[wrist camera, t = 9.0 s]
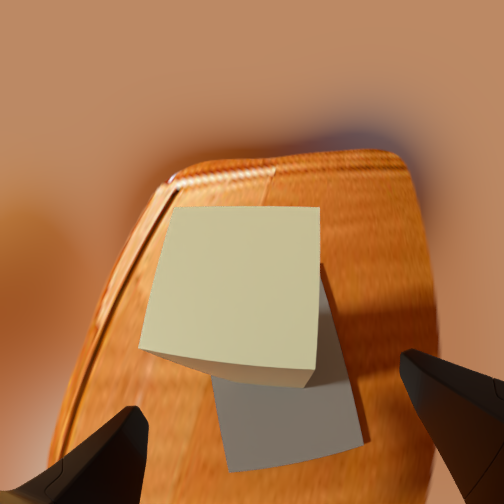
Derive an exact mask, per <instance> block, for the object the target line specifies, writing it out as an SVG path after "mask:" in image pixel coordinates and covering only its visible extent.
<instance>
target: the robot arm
mask: <svg viewBox="0 0 504 504" xmlns="http://www.w3.org/2000/svg"><path fill="white" fill-rule="evenodd" d="M400 376H401V379H402V381H403V383H404V385H405V388H406V390H407V392H408V394H409V397H410V399H411V401H412V404H413V406H414V408H415V410H416V412H417V414H418V416H419V418H420V419H421V421H422V423H423V424H424V426H425V428H426V430H427V431H428V433H429V435H430V437H431V438H432V440H433V442H434V444H435V446H436V447H437V449H438V451H439V453H440V455H441V456H442V458H443V460H444V462H445V464H446V466H447V468H448V469H449V471H450V473H451V475H452V477H453V479H454V481H455V483H456V485H457V487H458V489H459V491H460V493H461V494H462V497H463V499H465V500H464V501H465V503H466V504H504V381H501V380H499V379H495V378H492V377H490V376H487V375H484V374H481V373H478V372H475V371H472V370H470V369H467V368H464V367H462V366H459V365H456V364H453V363H451V362H448V361H445V360H442V359H440V358H437V357H434V356H432V355H429V354H426V353H424V352H421V351H418V350H416V349H413V348H411V349H408V350H406V351H403V352H402V353H401V355H400ZM148 431H149V424H148V421H147V419H146V418H145V416H144V415H143V413H142V412H141V410H140V408H139V407H138V406H126V407H125V408H124V409H122V410H121V411H120V412H119V413H118V414H116V415H115V416H114V417H113V418H112V419H110V420H109V421H108V422H107V423H106V424H104V425H103V426H102V427H101V428H99V429H98V430H97V431H96V432H94V433H93V434H92V435H91V436H90V437H88V438H87V439H86V440H85V441H83V442H82V443H81V444H80V445H78V446H77V447H76V448H75V449H73V450H72V451H71V452H69V453H68V454H67V455H66V456H64V457H63V458H62V459H60V460H59V461H58V462H57V463H55V464H54V465H53V466H51V467H50V468H48V469H47V470H46V471H44V472H43V473H41V474H39V475H38V476H36V477H35V478H33V479H31V480H30V481H28V482H26V483H25V484H23V485H21V486H20V487H18V488H16V489H13V490H10V491H0V504H139V503H140V497H141V490H142V484H143V478H144V472H145V467H146V459H147V445H148Z"/></svg>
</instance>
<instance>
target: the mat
mask: <svg viewBox="0 0 504 504" xmlns="http://www.w3.org/2000/svg"><path fill="white" fill-rule="evenodd" d="M211 379H212V385H213V391H214V397H215V403H216V408H217V414H218V419H219V425H220V430H221V435H222V440H223V445H224V450H225V455H226V460H227V465H228V469H229V473H230V472H240V471H249V470H257V469H264V468H271V467H277V466H283V465H288V464H293V463H298V462H303V461H308V460H312V459H316V458H320V457H324V456H328V455H332V454H336V453H339V452H343V451H346V450H350V449H353V448H356V447H359V446H362V445H364V443H363V438H362V433H361V429H360V424H359V420H358V415H357V411H356V406H355V402H354V398H353V394H352V389H351V385H350V381H349V377H348V373H347V369H346V365H345V362H344V358H343V354H342V350H341V347H340V343H339V339H338V336H337V332H336V328H335V325H334V321H333V318H332V314H331V311H330V307H329V304H328V301H327V297H326V294H325V291H324V287H323V284H322V281H321V277H320V284H319V314H318V334H317V351H316V366H315V371H314V372H313V374H312V376H311V377H310V379H309V380H308V382H307V383H306V385H305V386H304V388H290V387H276V386H264V385H254V384H245V383H236V382H232V381H229V380H226V379H222V378H219V377H216V376H213V375H211Z"/></svg>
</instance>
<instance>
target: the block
mask: <svg viewBox="0 0 504 504" xmlns="http://www.w3.org/2000/svg"><path fill="white" fill-rule="evenodd" d="M319 284H320V207H278V206H213V207H174V210H173V213H172V217H171V220H170V223H169V227H168V230H167V233H166V237H165V240H164V244H163V247H162V251H161V254H160V258H159V262H158V266H157V269H156V273H155V277H154V281H153V285H152V289H151V293H150V297H149V301H148V306H147V310H146V314H145V319H144V323H143V328H142V333H141V337H140V342H139V347H138V348H139V349H141V350H144V351H146V352H149V353H151V354H154V355H156V356H159V357H162V358H164V359H167V360H169V361H172V362H175V363H178V364H180V365H183V366H186V367H189V368H192V369H195V370H198V371H201V372H204V373H207V374H210V375H213V376H216V377H219V378H222V379H226V380H229V381H232V382H236V383H245V384H254V385H264V386H276V387H290V388H304V386H305V385H306V383H307V382H308V380H309V379H310V377H311V376H312V374H313V372H314V371H315V366H316V351H317V334H318V314H319Z"/></svg>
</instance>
